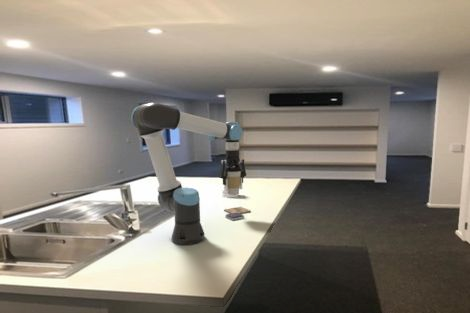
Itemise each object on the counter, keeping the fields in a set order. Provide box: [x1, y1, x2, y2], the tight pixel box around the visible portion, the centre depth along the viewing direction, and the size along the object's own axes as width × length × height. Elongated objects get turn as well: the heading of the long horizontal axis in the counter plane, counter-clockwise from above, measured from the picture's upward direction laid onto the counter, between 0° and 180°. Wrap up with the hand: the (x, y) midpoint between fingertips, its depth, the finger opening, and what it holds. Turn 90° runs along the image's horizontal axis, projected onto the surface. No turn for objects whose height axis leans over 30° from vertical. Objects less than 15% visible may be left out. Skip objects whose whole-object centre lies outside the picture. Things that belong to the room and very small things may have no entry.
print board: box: [223, 206, 252, 215], centre depth 195 cm, size 12×12×1 cm
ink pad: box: [224, 213, 245, 221], centre depth 182 cm, size 8×8×2 cm
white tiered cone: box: [221, 184, 240, 199], centre depth 240 cm, size 13×13×18 cm
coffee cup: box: [224, 166, 241, 195], centre depth 180 cm, size 10×10×15 cm
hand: (233, 189), depth 180 cm, fingers closed on coffee cup, 9 cm apart
